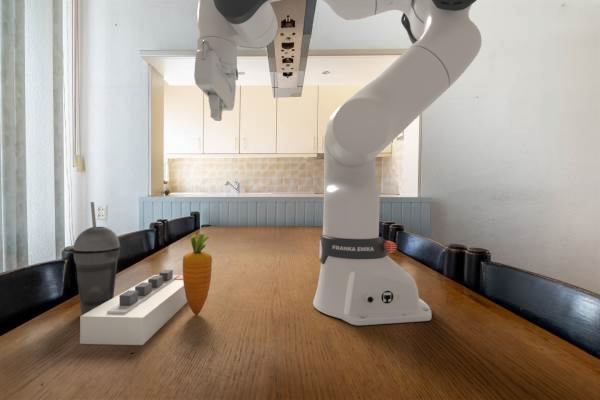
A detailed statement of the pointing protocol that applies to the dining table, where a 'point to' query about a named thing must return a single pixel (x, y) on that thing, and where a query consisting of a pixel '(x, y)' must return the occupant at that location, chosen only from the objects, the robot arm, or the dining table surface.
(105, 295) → the beverage cup
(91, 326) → the breaker panel
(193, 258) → the carrot
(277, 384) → the dining table surface
